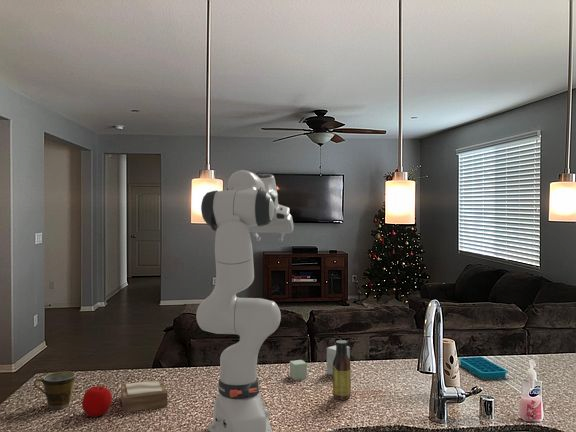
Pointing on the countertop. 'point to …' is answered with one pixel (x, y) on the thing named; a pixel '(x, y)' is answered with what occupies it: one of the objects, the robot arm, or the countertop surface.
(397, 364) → the countertop surface
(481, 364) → the ice cube tray
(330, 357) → the small box
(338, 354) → the sauce bottle
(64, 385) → the ceramic cup
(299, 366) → the block
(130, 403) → the base
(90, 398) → the fruit
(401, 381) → the countertop surface
